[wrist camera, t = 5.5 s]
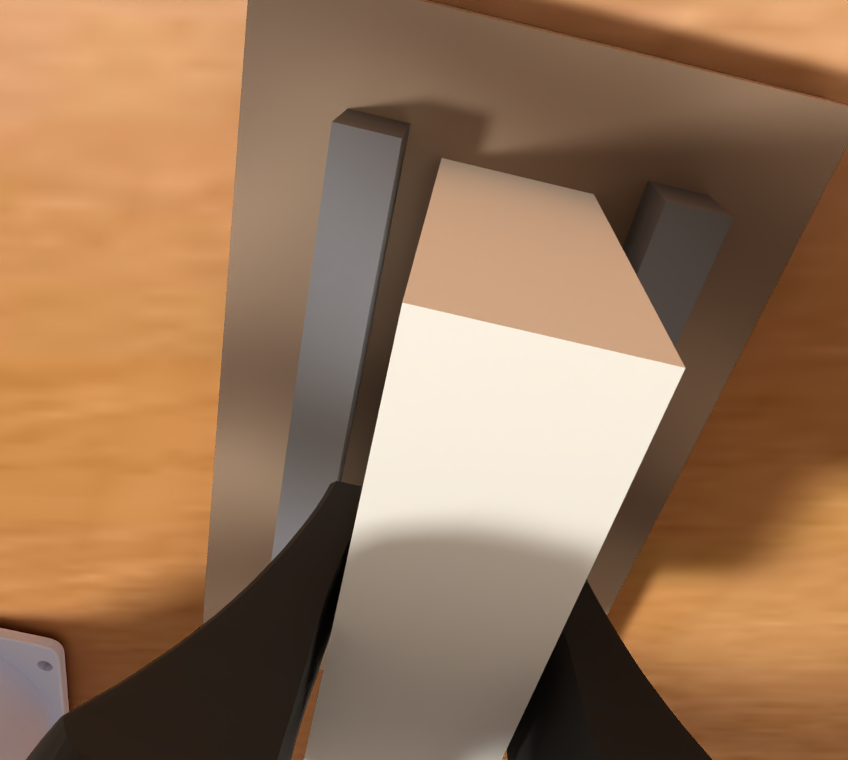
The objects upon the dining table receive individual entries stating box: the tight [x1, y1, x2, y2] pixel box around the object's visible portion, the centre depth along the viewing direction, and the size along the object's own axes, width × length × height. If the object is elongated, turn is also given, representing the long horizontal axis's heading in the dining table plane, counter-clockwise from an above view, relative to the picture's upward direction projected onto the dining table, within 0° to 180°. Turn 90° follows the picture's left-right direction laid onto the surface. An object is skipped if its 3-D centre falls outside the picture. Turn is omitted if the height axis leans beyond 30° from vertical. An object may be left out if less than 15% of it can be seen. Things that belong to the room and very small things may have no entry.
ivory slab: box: [304, 158, 685, 760], centre depth 13 cm, size 12×3×7 cm, turn 168°
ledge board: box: [202, 0, 848, 670], centre depth 16 cm, size 18×11×3 cm, turn 168°
